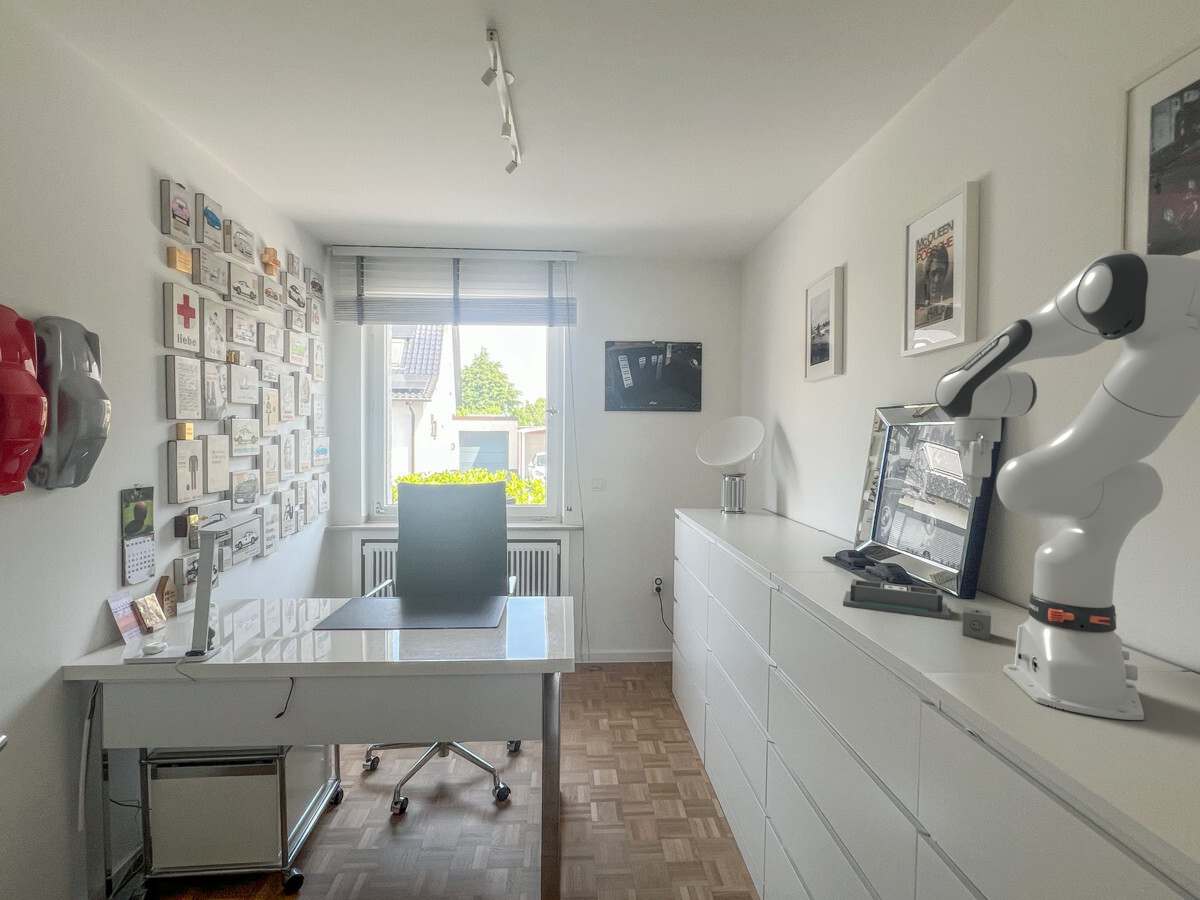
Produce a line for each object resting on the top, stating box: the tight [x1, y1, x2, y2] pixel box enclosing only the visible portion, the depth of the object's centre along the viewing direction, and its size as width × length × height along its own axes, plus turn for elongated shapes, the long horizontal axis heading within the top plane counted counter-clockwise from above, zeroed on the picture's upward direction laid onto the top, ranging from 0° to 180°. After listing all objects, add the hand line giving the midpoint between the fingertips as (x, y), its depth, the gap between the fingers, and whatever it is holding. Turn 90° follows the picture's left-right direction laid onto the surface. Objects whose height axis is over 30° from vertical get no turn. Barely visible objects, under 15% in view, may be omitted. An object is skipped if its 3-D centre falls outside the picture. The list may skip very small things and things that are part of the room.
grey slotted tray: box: [842, 578, 951, 620], centre depth 160 cm, size 12×23×5 cm, turn 66°
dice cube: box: [961, 606, 992, 641], centre depth 138 cm, size 5×5×5 cm
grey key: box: [884, 585, 907, 591], centre depth 160 cm, size 5×5×2 cm
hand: (974, 496), depth 144 cm, fingers closed
